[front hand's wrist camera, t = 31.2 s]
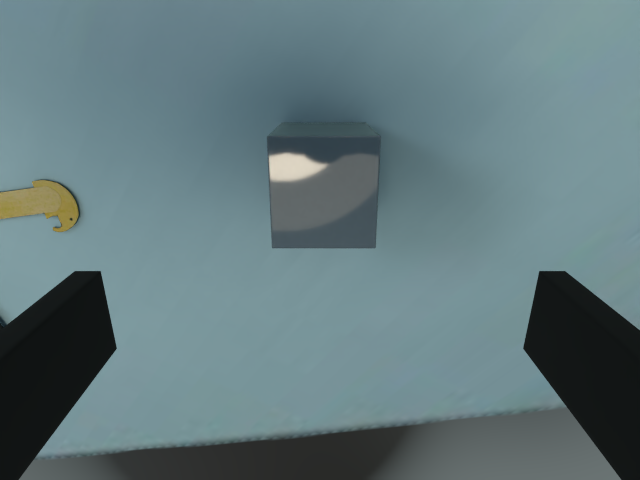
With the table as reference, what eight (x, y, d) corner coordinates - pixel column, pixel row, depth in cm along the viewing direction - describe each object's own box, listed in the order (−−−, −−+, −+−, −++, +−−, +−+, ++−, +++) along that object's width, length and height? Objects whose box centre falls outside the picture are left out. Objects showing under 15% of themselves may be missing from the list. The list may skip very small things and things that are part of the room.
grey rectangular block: (363, 209, 36) (375, 248, 28) (283, 209, 36) (271, 248, 28) (366, 122, 33) (381, 135, 25) (280, 122, 33) (266, 135, 25)
